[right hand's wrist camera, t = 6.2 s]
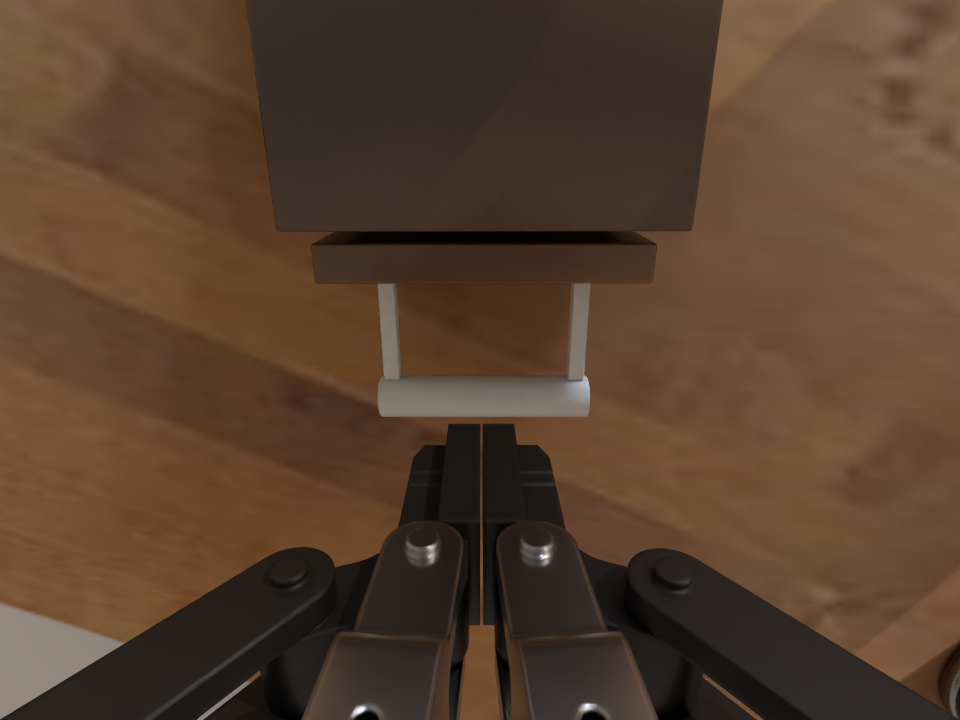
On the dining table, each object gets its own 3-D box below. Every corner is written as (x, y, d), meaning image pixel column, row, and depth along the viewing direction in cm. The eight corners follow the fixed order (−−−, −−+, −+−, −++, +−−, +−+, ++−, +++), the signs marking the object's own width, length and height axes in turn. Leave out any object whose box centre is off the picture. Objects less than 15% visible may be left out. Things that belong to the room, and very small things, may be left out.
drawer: (596, 380, 24) (633, 456, 18) (371, 379, 24) (334, 456, 18) (660, -419, 15) (776, -797, 9) (308, -416, 16) (193, -787, 9)
